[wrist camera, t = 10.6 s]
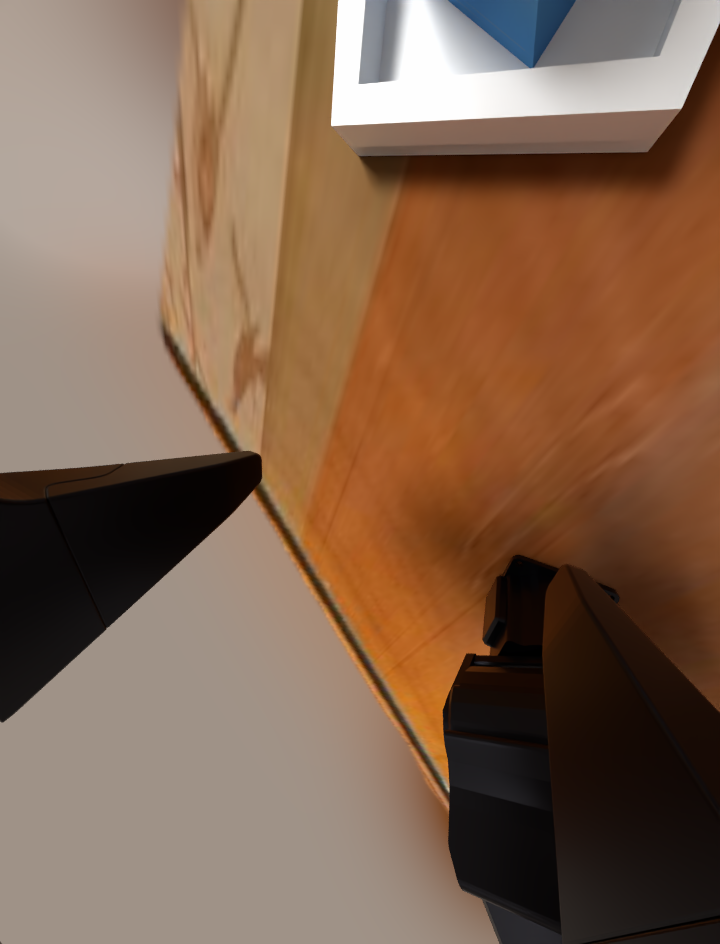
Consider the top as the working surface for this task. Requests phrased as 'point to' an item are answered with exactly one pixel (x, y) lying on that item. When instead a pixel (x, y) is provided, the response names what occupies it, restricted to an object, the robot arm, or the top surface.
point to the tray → (514, 78)
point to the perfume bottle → (518, 23)
